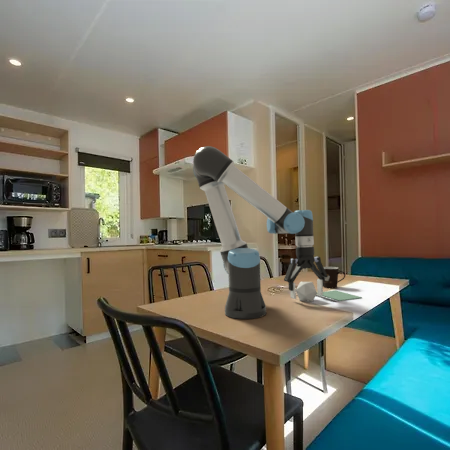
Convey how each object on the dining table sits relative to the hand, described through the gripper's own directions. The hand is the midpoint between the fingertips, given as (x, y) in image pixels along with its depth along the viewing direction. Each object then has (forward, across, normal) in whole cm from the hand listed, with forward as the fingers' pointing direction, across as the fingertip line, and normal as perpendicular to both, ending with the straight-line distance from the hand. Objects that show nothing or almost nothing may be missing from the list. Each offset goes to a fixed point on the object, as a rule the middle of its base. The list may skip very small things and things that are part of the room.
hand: (307, 296), depth 120 cm
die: (+2, 0, 0) cm, 2 cm away
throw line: (+2, +9, +1) cm, 9 cm away
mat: (+2, +17, +1) cm, 17 cm away
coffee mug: (+2, +27, +16) cm, 31 cm away
